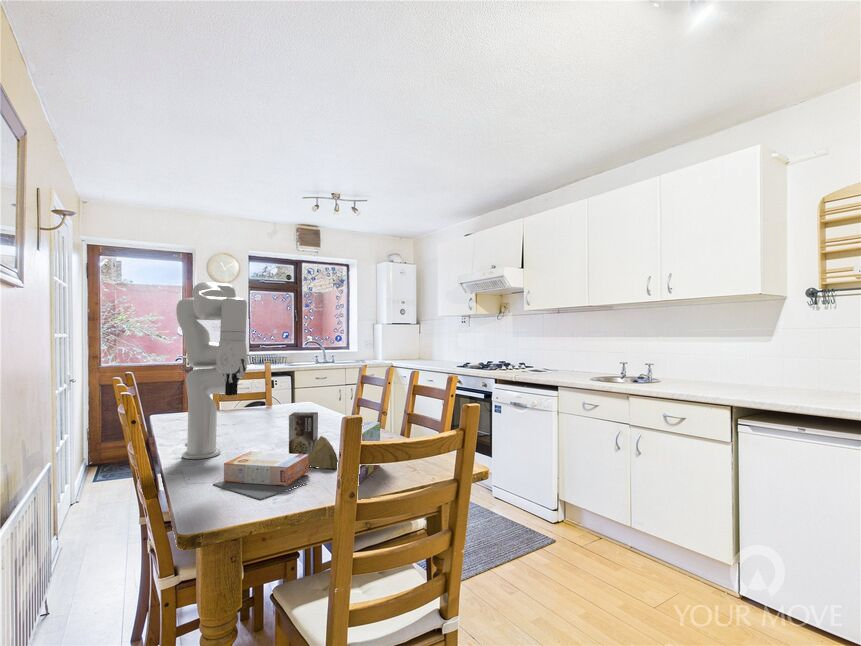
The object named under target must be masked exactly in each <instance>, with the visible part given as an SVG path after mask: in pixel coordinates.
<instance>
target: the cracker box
mask: <svg viewBox="0 0 861 646" xmlns="http://www.w3.org/2000/svg"><path fill="white" fill-rule="evenodd" d="M309 468H310V467H309V455H308V454H289V452H288V453H286V452H267V451H266V452H265V451H264V452H263V451H253V450H252V451H249V452H245V453H243V454H242V455H239V456H237V457H235V458H233V459H230V460H228V461H226V462H224V463H223V481H224V482H238V483H252V484H267V485H281V486H288V485H289V484H291V483H292V482H294V481H295V480H299V479H300V478H301V477H303V476H304V475H306V474H307V473H309V471H310V470H309Z"/></svg>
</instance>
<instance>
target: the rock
mask: <svg viewBox="0 0 861 646" xmlns="http://www.w3.org/2000/svg"><path fill="white" fill-rule="evenodd" d="M337 462H338V463H339V460H338V457H337V453H336V451H335V449H334V447H333V445H332V444H331V443H330V441H329V440H328V439H327V438H326V437H324V436H322V435H320V436H319V437H318V441H317V442H316V444H315V446H314V448H313V450H312V452H311V454H310V455H309V466H311V467H319V468H318V469H322V468H334V470H335V469H338V468H337ZM311 467H310V468H311Z"/></svg>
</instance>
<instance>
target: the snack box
mask: <svg viewBox="0 0 861 646" xmlns="http://www.w3.org/2000/svg"><path fill="white" fill-rule="evenodd" d="M363 423H364V425H363V433H362V441H380V442H381V424H382V423H381V422H379V421H366V422H363ZM378 467H380V464H379V465H361V466H360V474H359V484H360V483H361V482H363V481H364V480H365V479H366V478H367V477H368V476H369V475H370V474H372V473H373V471H375V470H376V469H377V468H378Z"/></svg>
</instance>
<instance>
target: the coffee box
mask: <svg viewBox="0 0 861 646" xmlns="http://www.w3.org/2000/svg"><path fill="white" fill-rule="evenodd" d="M318 414H319V413H318V411H316V412H315V411H314V412H313V411H312V412H311V411H309V412H308V411H307V412H305V411H304V412H303V411H302V412H299V411H298V412H296V411H295V412H292V413H290V415H288V454H308V455H310V454H311V452H312V450H313V448H314V446H315V444H316V442H317V441H318V439H319V428H318V427H319V415H318Z"/></svg>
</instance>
